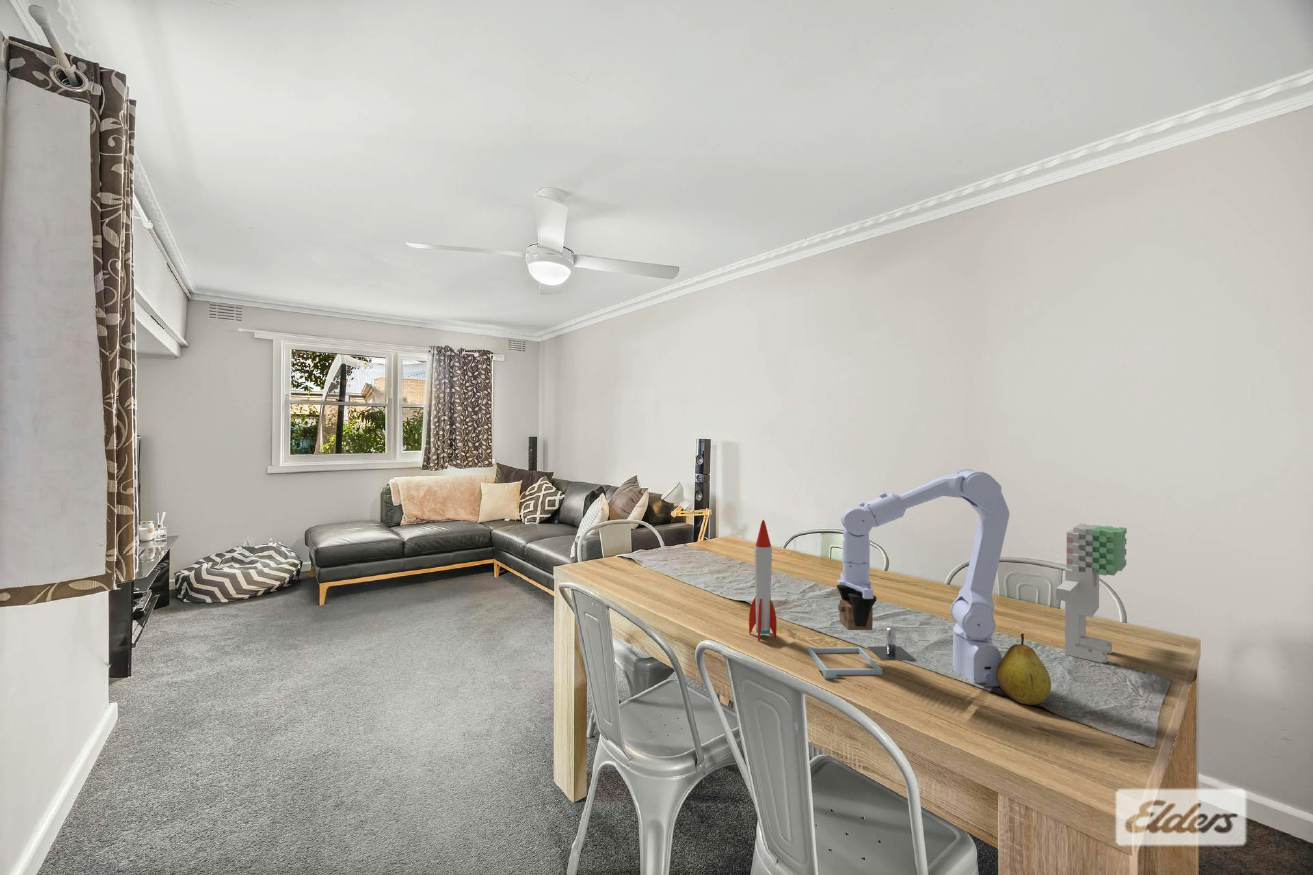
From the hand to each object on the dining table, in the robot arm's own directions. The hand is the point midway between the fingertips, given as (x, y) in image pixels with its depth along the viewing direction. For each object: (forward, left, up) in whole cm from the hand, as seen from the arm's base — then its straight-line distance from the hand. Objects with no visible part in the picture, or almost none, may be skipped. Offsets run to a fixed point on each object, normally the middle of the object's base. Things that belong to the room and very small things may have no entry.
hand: (855, 621), depth 123 cm
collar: (0, 0, -1) cm, 1 cm away
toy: (+4, -59, -10) cm, 60 cm away
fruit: (-17, -27, -10) cm, 33 cm away
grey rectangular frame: (-1, +3, -10) cm, 10 cm away
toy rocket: (+18, +17, -10) cm, 27 cm away
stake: (+4, -10, -10) cm, 14 cm away
